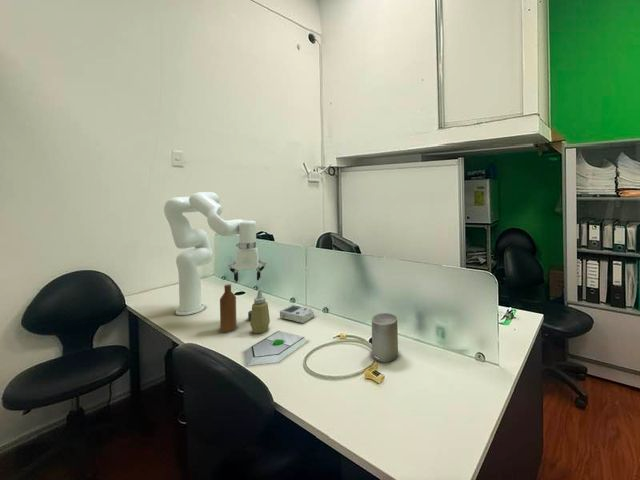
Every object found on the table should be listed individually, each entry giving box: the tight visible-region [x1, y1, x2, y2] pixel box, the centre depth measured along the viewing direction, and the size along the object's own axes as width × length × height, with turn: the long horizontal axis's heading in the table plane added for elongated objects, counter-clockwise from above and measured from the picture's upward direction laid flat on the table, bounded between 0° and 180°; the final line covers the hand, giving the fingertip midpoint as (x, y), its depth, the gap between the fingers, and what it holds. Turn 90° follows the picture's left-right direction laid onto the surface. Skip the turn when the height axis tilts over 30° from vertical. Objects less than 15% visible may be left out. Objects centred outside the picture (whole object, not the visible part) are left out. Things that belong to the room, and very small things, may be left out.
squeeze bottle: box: [249, 289, 271, 334], centre depth 131 cm, size 8×8×18 cm
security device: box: [244, 330, 307, 366], centre depth 115 cm, size 17×22×2 cm
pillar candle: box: [370, 312, 399, 363], centre depth 110 cm, size 10×10×15 cm
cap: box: [247, 310, 252, 322], centre depth 143 cm, size 4×4×4 cm
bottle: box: [219, 283, 237, 334], centre depth 133 cm, size 6×6×20 cm
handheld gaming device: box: [279, 304, 315, 324], centre depth 144 cm, size 9×15×4 cm, turn 63°
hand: (247, 280), depth 146 cm, fingers open, 9 cm apart
